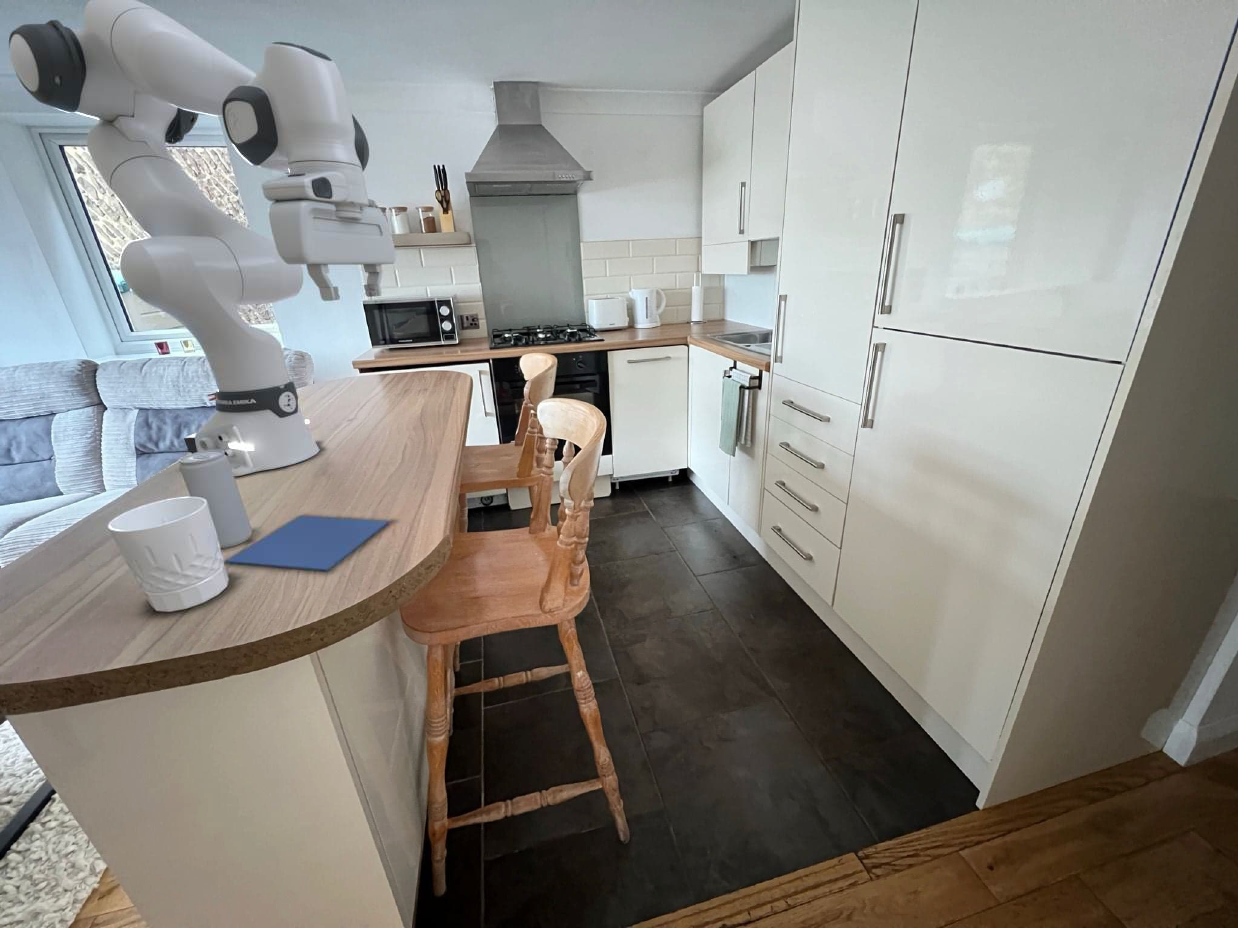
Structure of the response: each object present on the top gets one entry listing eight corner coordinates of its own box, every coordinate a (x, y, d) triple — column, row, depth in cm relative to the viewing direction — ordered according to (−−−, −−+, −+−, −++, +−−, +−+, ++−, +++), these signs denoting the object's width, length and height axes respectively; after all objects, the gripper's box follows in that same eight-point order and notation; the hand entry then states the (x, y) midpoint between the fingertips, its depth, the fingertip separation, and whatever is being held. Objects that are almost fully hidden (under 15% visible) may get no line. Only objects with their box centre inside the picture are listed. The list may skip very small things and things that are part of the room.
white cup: (180, 575, 59) (148, 498, 56) (250, 570, 60) (223, 494, 56) (125, 619, 52) (84, 533, 48) (205, 613, 52) (171, 527, 49)
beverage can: (230, 551, 64) (199, 463, 60) (199, 548, 65) (166, 462, 61) (262, 532, 69) (235, 449, 64) (233, 530, 70) (204, 448, 65)
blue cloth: (226, 562, 62) (225, 560, 62) (301, 517, 73) (300, 515, 73) (327, 571, 59) (326, 569, 59) (388, 523, 70) (388, 521, 70)
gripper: (360, 202, 79) (378, 295, 84) (248, 182, 60) (280, 303, 65) (396, 199, 78) (412, 294, 83) (294, 179, 59) (323, 302, 64)
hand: (353, 298), depth 74 cm, fingers open, 8 cm apart
